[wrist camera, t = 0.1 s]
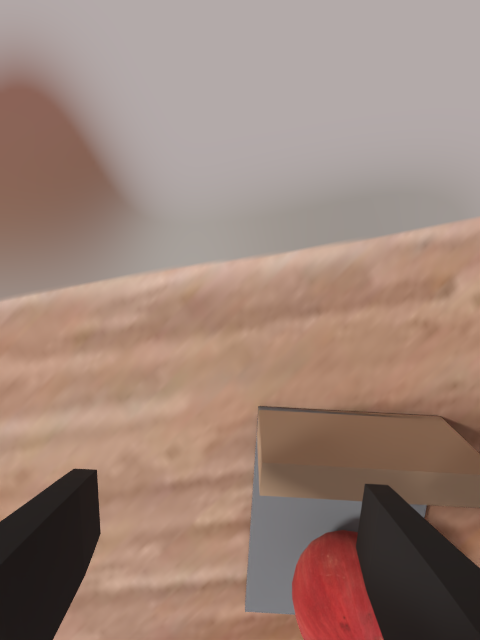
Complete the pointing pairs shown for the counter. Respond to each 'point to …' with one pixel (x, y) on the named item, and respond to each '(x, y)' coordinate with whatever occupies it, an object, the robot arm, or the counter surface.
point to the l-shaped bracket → (341, 482)
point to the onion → (333, 591)
